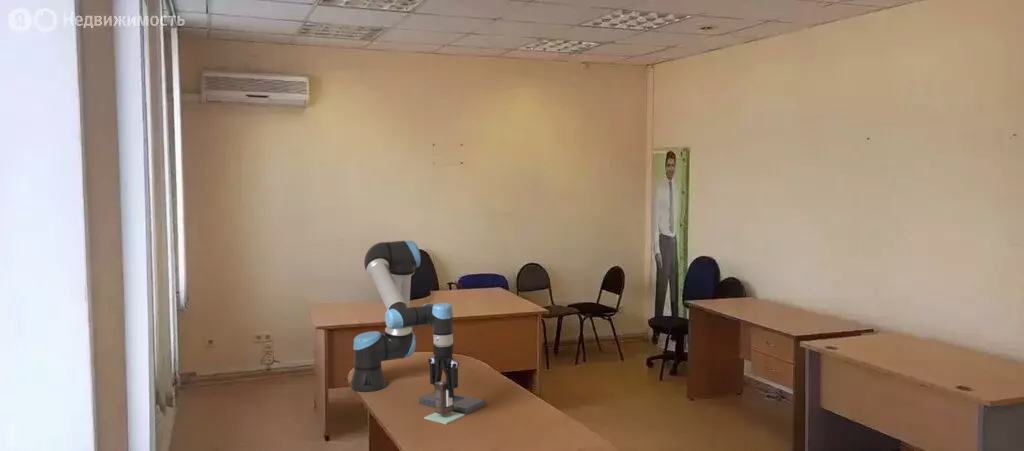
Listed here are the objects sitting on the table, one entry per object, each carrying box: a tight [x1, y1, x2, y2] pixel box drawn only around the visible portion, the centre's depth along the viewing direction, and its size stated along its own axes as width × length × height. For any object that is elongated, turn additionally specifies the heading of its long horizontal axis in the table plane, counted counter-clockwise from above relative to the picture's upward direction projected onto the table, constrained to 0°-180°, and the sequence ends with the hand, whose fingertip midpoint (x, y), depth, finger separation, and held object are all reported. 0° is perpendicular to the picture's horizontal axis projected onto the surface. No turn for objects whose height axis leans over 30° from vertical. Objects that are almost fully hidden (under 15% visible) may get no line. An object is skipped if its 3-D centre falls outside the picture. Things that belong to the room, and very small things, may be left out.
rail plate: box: [418, 391, 485, 416], centre depth 300 cm, size 24×12×2 cm, turn 55°
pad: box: [423, 411, 466, 425], centre depth 286 cm, size 11×11×1 cm
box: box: [434, 378, 454, 415], centre depth 286 cm, size 6×4×12 cm
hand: (444, 404), depth 286 cm, fingers closed on box, 4 cm apart
